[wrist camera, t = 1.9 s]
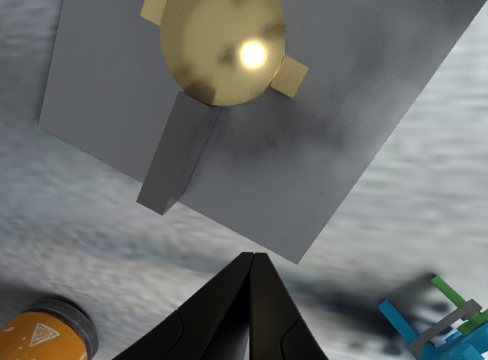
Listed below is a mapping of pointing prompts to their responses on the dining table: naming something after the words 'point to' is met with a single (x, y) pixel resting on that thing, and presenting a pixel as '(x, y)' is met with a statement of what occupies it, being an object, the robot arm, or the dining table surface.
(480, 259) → the dining table surface
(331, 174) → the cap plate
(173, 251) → the dining table surface
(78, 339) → the canister
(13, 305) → the dining table surface
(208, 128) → the gold lugged knob
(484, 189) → the dining table surface
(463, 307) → the blue branched piece
